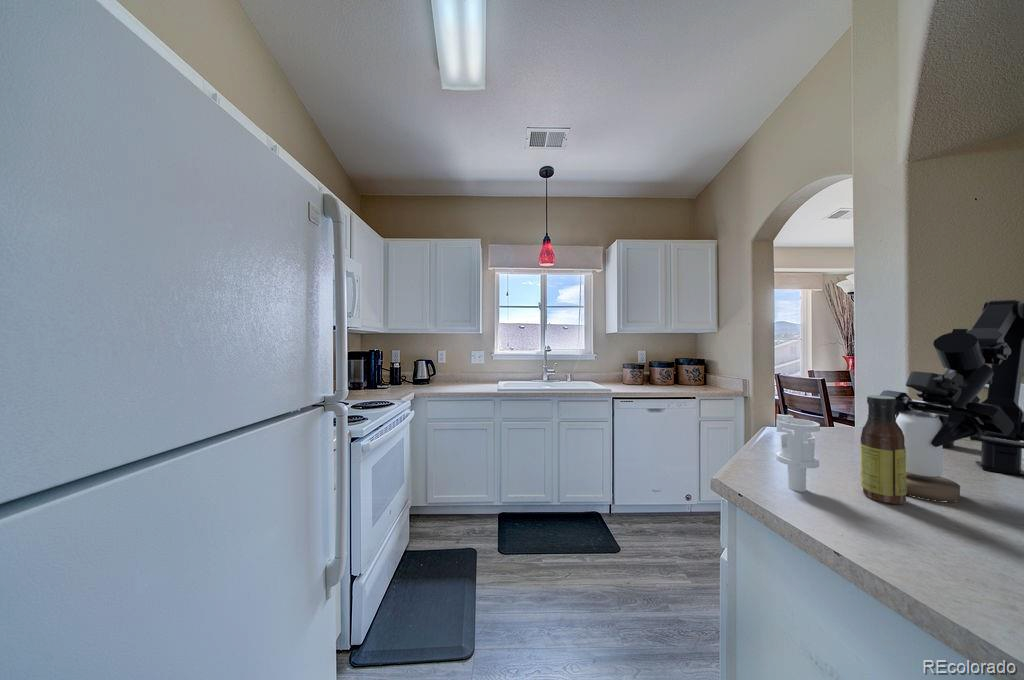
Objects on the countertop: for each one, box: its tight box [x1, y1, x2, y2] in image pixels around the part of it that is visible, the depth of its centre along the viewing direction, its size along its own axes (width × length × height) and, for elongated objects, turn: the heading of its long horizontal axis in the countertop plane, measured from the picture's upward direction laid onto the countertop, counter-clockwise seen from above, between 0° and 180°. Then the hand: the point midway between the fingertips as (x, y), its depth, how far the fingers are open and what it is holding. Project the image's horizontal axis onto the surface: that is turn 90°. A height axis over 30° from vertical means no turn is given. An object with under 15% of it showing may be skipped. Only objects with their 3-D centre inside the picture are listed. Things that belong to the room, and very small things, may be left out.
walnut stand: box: [906, 473, 961, 503], centre depth 76 cm, size 11×11×2 cm
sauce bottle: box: [859, 394, 907, 505], centre depth 72 cm, size 7×6×20 cm
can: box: [896, 411, 944, 478], centre depth 76 cm, size 6×6×12 cm
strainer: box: [775, 413, 821, 493], centre depth 77 cm, size 7×7×15 cm
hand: (913, 440), depth 76 cm, fingers closed on can, 6 cm apart
